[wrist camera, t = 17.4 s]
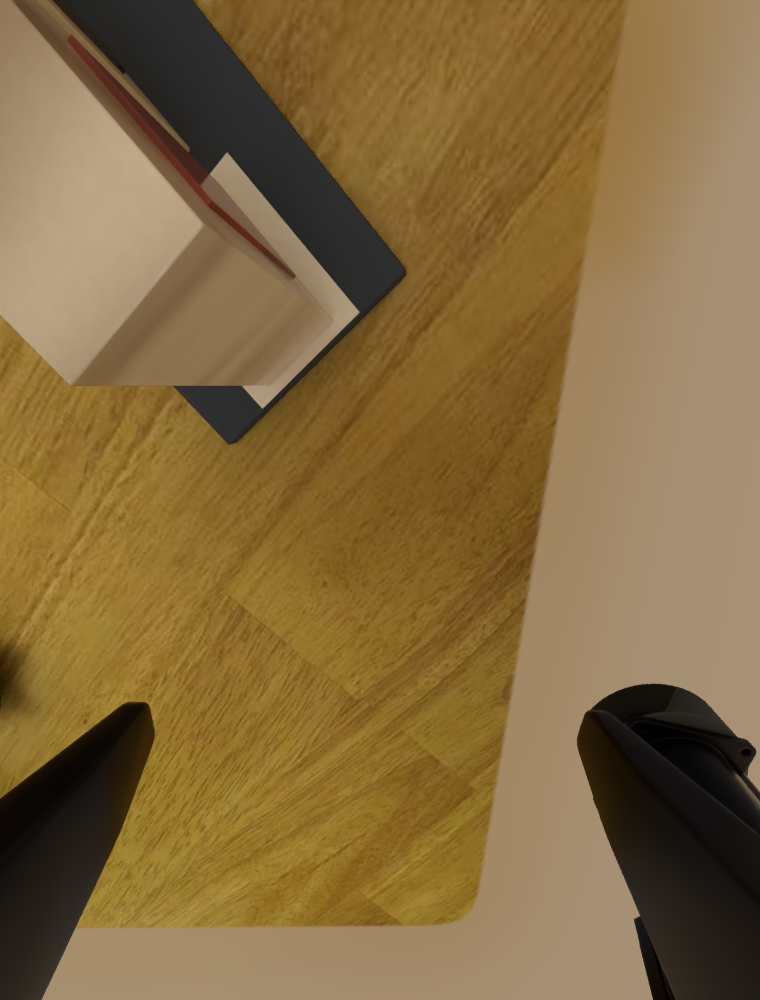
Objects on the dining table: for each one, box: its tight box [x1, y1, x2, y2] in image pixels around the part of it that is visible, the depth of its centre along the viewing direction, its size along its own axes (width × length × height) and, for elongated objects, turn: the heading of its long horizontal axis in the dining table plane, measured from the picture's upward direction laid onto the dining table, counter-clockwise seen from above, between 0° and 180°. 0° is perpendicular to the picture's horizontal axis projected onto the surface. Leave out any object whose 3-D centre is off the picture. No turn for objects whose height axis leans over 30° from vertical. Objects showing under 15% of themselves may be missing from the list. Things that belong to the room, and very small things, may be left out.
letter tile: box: [0, 0, 333, 386], centre depth 12 cm, size 7×4×11 cm, turn 41°
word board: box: [67, 0, 406, 445], centre depth 17 cm, size 26×11×1 cm, turn 41°
